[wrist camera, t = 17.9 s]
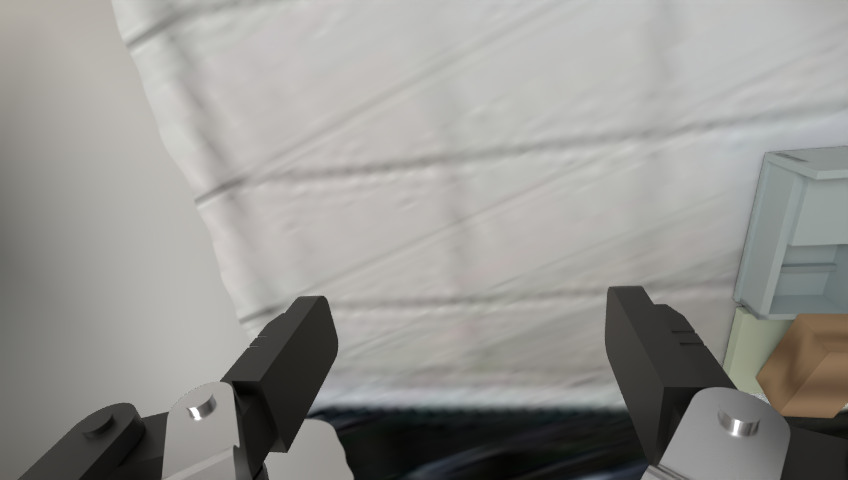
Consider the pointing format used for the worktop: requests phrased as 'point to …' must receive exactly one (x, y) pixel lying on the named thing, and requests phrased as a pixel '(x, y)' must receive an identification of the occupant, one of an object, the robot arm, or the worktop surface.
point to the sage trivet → (751, 348)
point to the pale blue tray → (797, 237)
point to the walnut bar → (809, 367)
